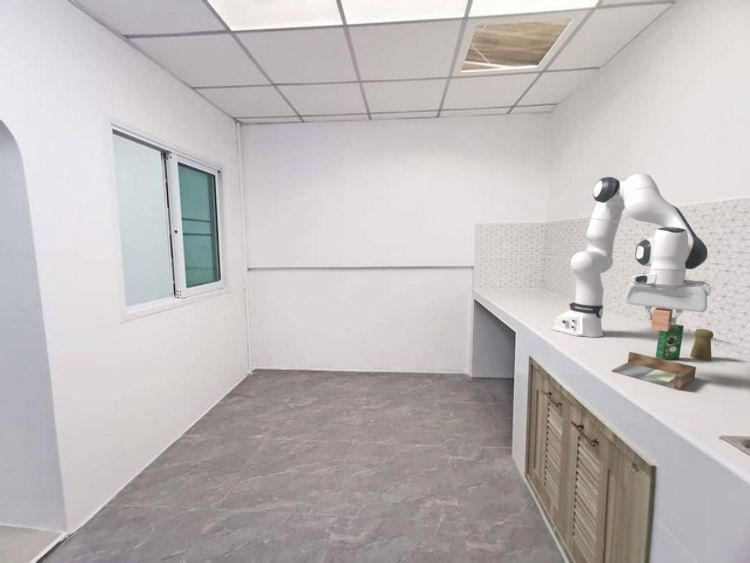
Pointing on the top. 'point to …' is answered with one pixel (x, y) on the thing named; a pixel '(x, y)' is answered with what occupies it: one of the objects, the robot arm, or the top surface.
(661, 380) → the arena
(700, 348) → the cork
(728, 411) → the top surface
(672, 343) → the coffee box
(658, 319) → the terracotta block
